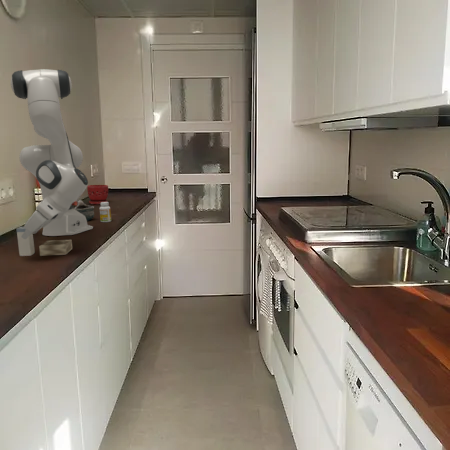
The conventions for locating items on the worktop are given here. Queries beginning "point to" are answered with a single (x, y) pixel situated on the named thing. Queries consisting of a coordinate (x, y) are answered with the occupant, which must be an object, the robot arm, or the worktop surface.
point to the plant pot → (97, 197)
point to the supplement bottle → (105, 212)
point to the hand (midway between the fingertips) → (28, 234)
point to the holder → (55, 247)
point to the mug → (85, 210)
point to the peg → (25, 243)
